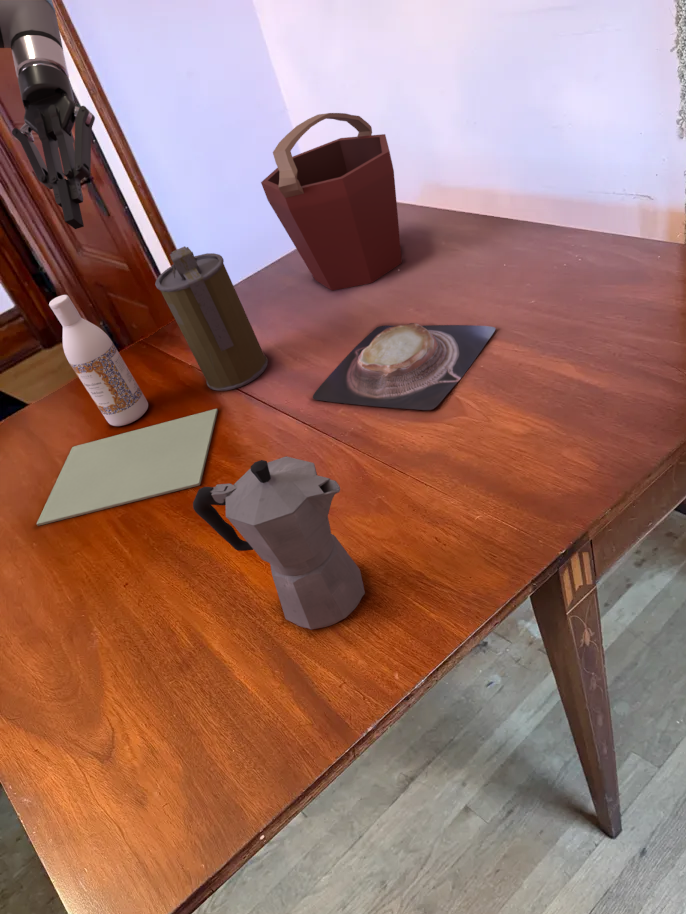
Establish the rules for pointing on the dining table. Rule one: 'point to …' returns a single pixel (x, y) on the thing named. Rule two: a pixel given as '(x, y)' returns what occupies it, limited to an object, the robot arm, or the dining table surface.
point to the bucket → (338, 204)
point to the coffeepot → (289, 537)
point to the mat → (131, 467)
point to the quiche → (405, 366)
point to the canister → (212, 319)
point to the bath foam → (99, 366)
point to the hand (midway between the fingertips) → (74, 224)
